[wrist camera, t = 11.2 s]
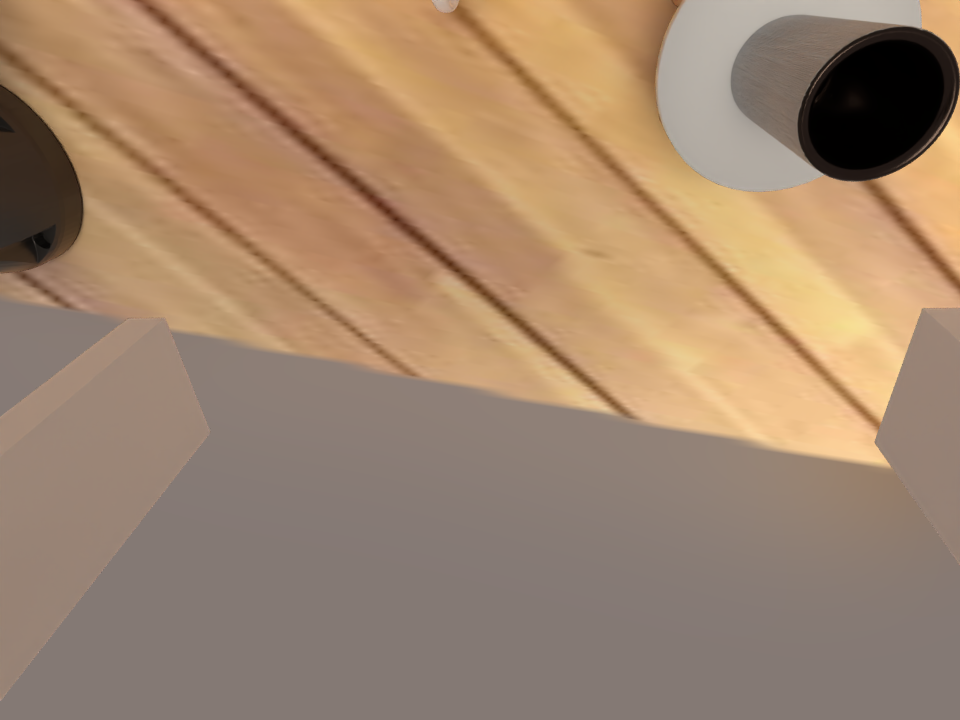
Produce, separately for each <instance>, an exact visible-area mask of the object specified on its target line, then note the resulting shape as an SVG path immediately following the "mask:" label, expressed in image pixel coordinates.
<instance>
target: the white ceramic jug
mask: <svg viewBox="0 0 960 720" xmlns="http://www.w3.org/2000/svg"><path fill="white" fill-rule="evenodd" d="M432 2H433V4H434V6H435V7H436V9H437V10H438V11H440V12H443V13H449V12H452V11H454V10H455V9H456V7H457V5H458V3H459V0H432Z"/></svg>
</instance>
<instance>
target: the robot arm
mask: <svg viewBox="0 0 960 720" xmlns="http://www.w3.org/2000/svg"><path fill="white" fill-rule="evenodd" d="M81 218H82V204H81V196H80V191H79V187H78V183H77V180H76V177H75V174H74V172H73V169H72V167H71V165H70V163H69V161H68V159H67V157H66V155H65V153H64V151H63V150H62V148H61V146H60V145H59V143H58V142H57V140H56V139H55V137H54V136H53V134H52V133H51V132H50V131H49V129H48V128H47V127H46V126H45V124H44V123H43V122H42V121H41V120H40V119H39V118H38V117H37V115H36V114H35V113H34V112H33V111H32V110H31V109H29V108H28V107H27V106H26V105H25V104H24V103H23V102H22V101H21V100H19V99H18V98H17V97H16V96H14V95H13V94H12V93H10V92H9V91H7V90H6V89H5V88H3V87H1V86H0V273H9V272H18V271H24V270H29V269H32V268H35V267H38V266H40V265H42V264H44V263H46V262H48V261H50V260H52V259H54V258H56V257H58V256H59V255H61V254H63V253H64V252H65V251H66V250H67V249H68V248H69V247H70V246H71V245H72V244H73V242H74V241H75V239H76V237H77V235H78V232H79V229H80V225H81ZM209 433H210V430H209V427H208V425H207V422H206V420H205V417H204V415H203V412H202V409H201V407H200V405H199V402H198V399H197V397H196V394H195V392H194V389H193V387H192V384H191V382H190V379H189V377H188V374H187V372H186V369H185V367H184V364H183V362H182V359H181V357H180V354H179V352H178V349H177V347H176V344H175V342H174V339H173V336H172V334H171V331H170V329H169V326H168V324H167V321H166V319H165V318H128V319H127V320H125V321H124V322H123V323H121V324H120V325H119V326H118V327H116V328H115V329H114V330H112V331H111V332H110V333H108V334H107V335H106V336H104V337H103V338H102V339H101V340H99V341H98V342H97V343H95V344H94V345H93V346H92V347H90V348H89V349H88V350H86V351H85V352H84V353H82V354H81V355H80V356H79V357H77V358H76V359H75V360H73V361H72V362H71V363H70V364H68V365H67V366H66V367H64V368H63V369H62V370H60V371H59V372H58V373H57V374H55V375H54V376H53V377H51V378H50V379H49V380H47V381H46V382H45V383H44V384H42V385H41V386H40V387H38V388H37V389H36V390H34V391H33V392H32V393H31V394H29V395H28V396H27V397H25V398H24V399H23V400H22V401H20V402H19V403H18V404H16V405H15V406H14V407H12V408H11V409H10V410H8V411H7V412H6V413H5V414H3V415H2V416H1V417H0V701H1V700H2V699H3V697H4V696H5V695H6V693H7V692H8V691H9V689H10V688H11V687H12V686H13V684H14V683H15V682H16V681H17V679H18V678H19V677H20V675H21V674H22V673H23V672H24V670H25V669H26V668H27V666H28V665H29V664H30V663H31V661H32V660H33V659H34V657H35V656H36V655H37V654H38V652H39V651H40V650H41V649H42V647H43V646H44V645H45V643H46V642H47V641H48V640H49V638H50V637H51V636H52V635H53V633H54V632H55V631H56V629H57V628H58V627H59V626H60V624H61V623H62V622H63V620H64V619H65V618H66V617H67V615H68V614H69V613H70V611H71V610H72V609H73V608H74V606H75V605H76V604H77V603H78V601H79V600H80V599H81V597H82V596H83V595H84V594H85V592H86V591H87V590H88V588H89V587H90V586H91V584H92V583H93V582H94V581H95V579H96V578H97V577H98V576H99V574H100V573H101V572H102V570H103V569H104V568H105V566H106V565H107V564H108V563H109V562H110V560H111V559H112V558H113V556H114V555H115V554H116V553H117V551H118V550H119V549H120V547H121V546H122V545H123V544H124V542H125V541H126V540H127V538H128V537H129V536H130V534H131V533H132V532H133V531H134V529H135V528H136V527H137V526H138V524H139V523H140V522H141V521H142V519H143V518H144V517H145V515H146V514H147V513H148V512H149V510H150V509H151V508H152V506H153V505H154V504H155V503H156V501H157V500H158V499H159V498H160V496H161V495H162V494H163V492H164V491H165V490H166V489H167V487H168V486H169V485H170V483H171V482H172V481H173V479H174V478H175V477H176V476H177V474H178V473H179V472H180V471H181V469H182V468H183V467H184V465H185V464H186V463H187V462H188V460H189V459H190V458H191V456H192V455H193V454H194V453H195V451H196V450H197V449H198V447H199V446H200V445H201V444H202V442H203V441H204V440H205V439H206V437H207V436H208V435H209ZM875 444H876V445H877V447H878V448H879V450H880V451H881V453H882V454H883V455H884V457H885V458H886V460H887V461H888V463H889V464H890V466H891V467H892V468H893V470H894V471H895V473H896V474H897V476H898V477H899V478H900V480H901V481H902V483H903V484H904V486H905V487H906V489H907V490H908V491H909V493H910V494H911V496H912V497H913V499H914V500H915V502H916V503H917V504H918V506H919V507H920V509H921V510H922V512H923V513H924V515H925V516H926V517H927V519H928V520H929V522H930V523H931V524H932V526H933V527H934V529H935V530H936V532H937V533H938V535H939V536H940V538H941V539H942V540H943V542H944V543H945V545H946V546H947V548H948V549H949V551H950V552H951V553H952V555H953V556H954V558H955V559H956V561H957V562H958V564H959V565H960V308H922V311H921V314H920V316H919V319H918V322H917V325H916V328H915V330H914V333H913V336H912V339H911V342H910V344H909V347H908V350H907V353H906V355H905V358H904V361H903V364H902V367H901V369H900V372H899V375H898V378H897V381H896V383H895V386H894V389H893V392H892V394H891V397H890V400H889V403H888V406H887V408H886V411H885V414H884V417H883V420H882V422H881V425H880V428H879V431H878V433H877V436H876V439H875Z"/></svg>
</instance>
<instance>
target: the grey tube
mask: <svg viewBox="0 0 960 720" xmlns="http://www.w3.org/2000/svg"><path fill="white" fill-rule="evenodd" d="M959 89H960V73H959V67H958V63H957V61H956V58H955V56H954V54H953V52H952V50H951V49H950V47H949V46H948V45H947V44H946V43H945V42H944V41H943V40H942V39H941V38H940V37H938V36H937V35H935V34H934V33H932V32H930V31H928V30H925V29H922V28H918V27H913V26H906V25H898V24H888V23H879V22H869V21H860V20H851V19H841V18H832V17H822V16H813V15H789V16H784V17H780V18H777V19H775V20H773V21H770V22H768V23H767V24H765V25H763V26H762V27H761V28H759V29H758V30H757V31H756V32H754V33H753V34H752V35H751V36H750V37H749V38H748V40H747V41H746V42H745V43H744V45H743V46H742V48H741V49H740V51H739V53H738V55H737V57H736V59H735V62H734V65H733V68H732V73H731V91H732V95H733V99H734V101H735V103H736V105H737V106H738V108H739V109H740V110H741V112H742V113H743V114H744V115H745V116H746V117H747V118H749V119H750V120H751V121H753V122H754V123H755V124H756V125H758V126H759V127H760V128H762V129H763V130H764V131H766V132H767V133H768V134H770V135H771V136H772V137H774V138H775V139H776V140H778V141H779V142H780V143H781V144H783V145H784V146H785V147H787V148H788V149H789V150H791V151H792V152H793V153H795V154H796V155H797V156H799V157H800V158H801V159H803V160H804V161H805V162H806V163H808V164H809V165H810V166H812V167H813V168H814V169H816V170H817V171H819V172H820V173H822V174H824V175H826V176H828V177H831V178H834V179H837V180H842V181H851V182H857V181H867V180H873V179H877V178H880V177H883V176H886V175H889V174H891V173H894V172H896V171H898V170H900V169H902V168H903V167H905V166H907V165H908V164H910V163H911V162H913V161H914V160H916V159H917V158H918V157H919V156H921V155H922V154H923V153H924V152H925V151H926V150H927V149H928V148H929V147H930V146H931V145H932V144H933V143H934V142H935V141H936V140H937V138H938V137H939V136H940V135H941V133H942V132H943V130H944V129H945V127H946V126H947V124H948V122H949V120H950V118H951V116H952V114H953V112H954V109H955V107H956V103H957V100H958V95H959Z"/></svg>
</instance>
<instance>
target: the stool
mask: <svg viewBox="0 0 960 720" xmlns="http://www.w3.org/2000/svg"><path fill="white" fill-rule="evenodd" d="M672 2H673V3H674V4H675V5H676V6H678V8H677V10H676V12H675V13H674V15H673V17H672V19H671V21H670V23H669V25H668V28H667V30H666V33H665V35H664V38H663V40H662V44H661V48H660V51H659V55H658V60H657V67H656V76H655V93H656V103H657V108H658V112H659V119H660V121H661V123H662V125H663V127H664V130H665V132H666V134H667V136H668V138H669V139H670V141H671V143H672V145H673V146H674V148H675V150H676V151H677V152H678V153H679V155H680V156H681V157H682V159H683V160H684V161H685V162H686V163H687V164H688V165H689V166H690V167H691V168H692V169H693V170H695V171H696V172H697V173H699V174H700V175H702V176H703V177H705V178H706V179H708V180H710V181H712V182H714V183H716V184H719V185H722V186H725V187H728V188H731V189H736V190H742V191H753V192H765V191H777V190H782V189H787V188H792V187H795V186H798V185H801V184H805V183H808V182H810V181H812V180H814V179H817V178H819V177H821V176H823V175H824V174H822V173H820V172H819V171H817V170H816V169H814V168H813V167H812V166H810V165H809V164H808V163H806V162H805V161H804V160H803V159H801V158H800V157H799V156H797V155H796V154H795V153H793V152H792V151H791V150H789V149H788V148H787V147H785V146H784V145H783V144H781V143H780V142H779V141H778V140H776V139H775V138H774V137H772V136H771V135H770V134H768V133H767V132H766V131H764V130H763V129H762V128H760V127H759V126H758V125H756V124H755V123H754V122H753V121H751V120H750V119H749V118H747V117H746V116H745V115H744V114H743V113H742V112H741V110H740V109H739V108H738V106H737V105H736V103H735V101H734V99H733V95H732V91H731V73H732V68H733V65H734V62H735V59H736V57H737V55H738V53H739V51H740V49H741V48H742V46H743V45H744V43H745V42H746V41H747V40H748V38H749V37H750V36H751V35H752V34H753V33H754V32H756V31H757V30H758V29H759V28H761V27H762V26H763V25H765V24H767V23H768V22H770V21H773V20H775V19H777V18H780V17H784V16H789V15H813V16H822V17H832V18H841V19H851V20H860V21H869V22H879V23H888V24H898V25H906V26H913V27H918V28H922V22H921V8H920V3H919V0H672Z"/></svg>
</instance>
